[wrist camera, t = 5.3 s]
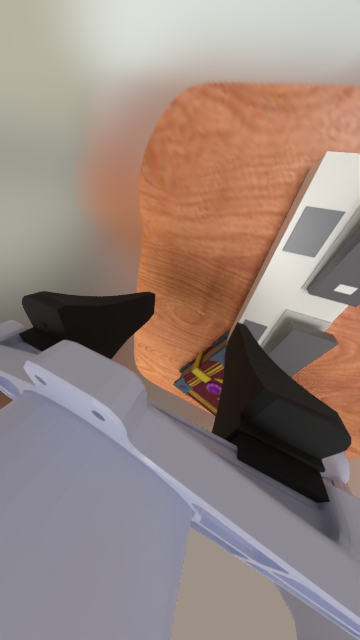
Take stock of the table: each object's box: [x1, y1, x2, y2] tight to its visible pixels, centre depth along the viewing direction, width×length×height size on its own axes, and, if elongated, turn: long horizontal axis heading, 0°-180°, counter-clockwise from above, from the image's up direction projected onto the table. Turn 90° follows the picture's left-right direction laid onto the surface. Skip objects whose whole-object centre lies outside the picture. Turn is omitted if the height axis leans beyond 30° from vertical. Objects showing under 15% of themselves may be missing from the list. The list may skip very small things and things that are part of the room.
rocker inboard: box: [265, 322, 338, 376], centre depth 15 cm, size 4×8×1 cm, turn 169°
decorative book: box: [173, 332, 229, 416], centre depth 25 cm, size 11×16×5 cm
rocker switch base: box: [227, 151, 360, 351], centre depth 15 cm, size 8×20×3 cm, turn 169°
